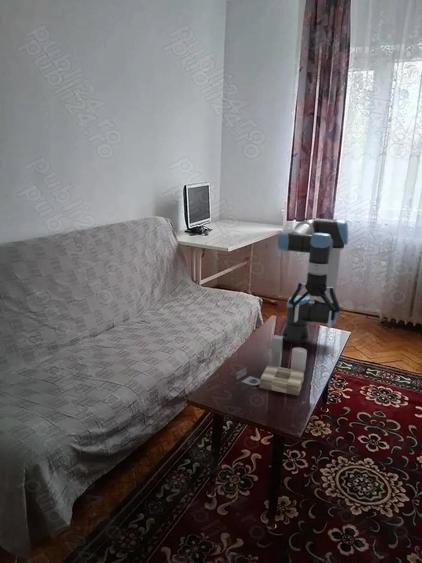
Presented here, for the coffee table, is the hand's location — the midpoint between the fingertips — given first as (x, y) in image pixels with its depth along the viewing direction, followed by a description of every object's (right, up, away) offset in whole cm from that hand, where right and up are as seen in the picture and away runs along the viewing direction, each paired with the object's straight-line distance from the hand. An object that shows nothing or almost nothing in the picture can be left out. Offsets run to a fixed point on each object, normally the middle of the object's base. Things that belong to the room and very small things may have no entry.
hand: (312, 324), depth 168 cm
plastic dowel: (-1, -22, +21) cm, 31 cm away
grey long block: (-11, -21, +24) cm, 34 cm away
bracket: (-24, -25, +10) cm, 37 cm away
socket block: (-11, -26, +7) cm, 29 cm away
